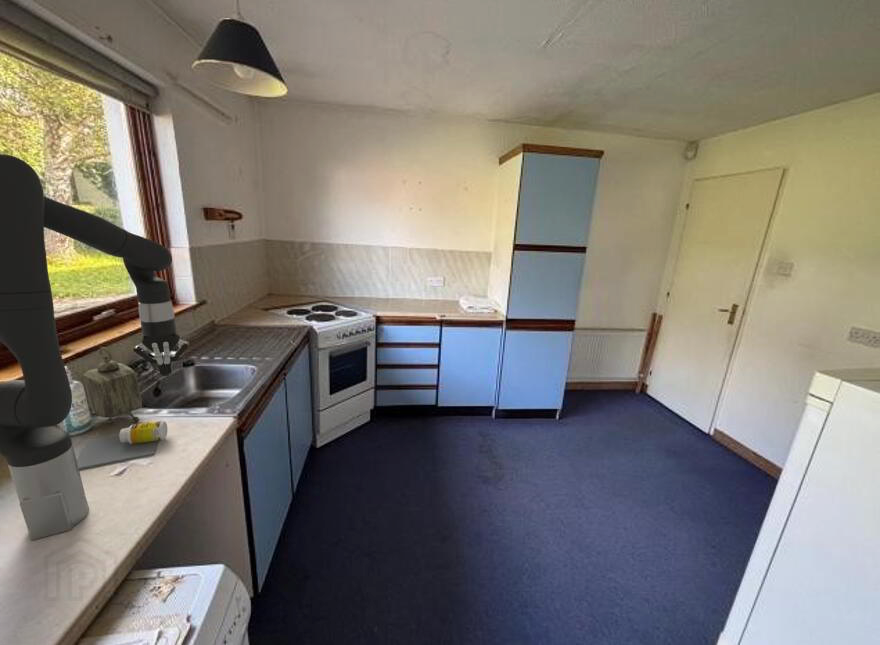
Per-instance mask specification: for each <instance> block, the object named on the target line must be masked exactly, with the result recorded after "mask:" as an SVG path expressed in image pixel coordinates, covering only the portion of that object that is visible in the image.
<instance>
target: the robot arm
mask: <svg viewBox="0 0 880 645" xmlns="http://www.w3.org/2000/svg"><path fill="white" fill-rule="evenodd" d="M45 228H46V229H48V230H50V231H53V232H56V233H58V234H60V235H63V236H65V237H67V238H71V239H72V240H75V241H77V242H80V243H82V244H84V245H87V246H89V248H90V247H91V248H92V249H95V250H97V251H100V252H101V253H105V254H106V255H109V256H112V257H117V258H121V259H122V261H123V265H124V267H125V269H126V270H127V274H128V276H129V277H130V279H131V281H132V283H133V285H134V286H135V289H136V296H137V302H138V314H139V315H138V316H139V321H140V325H141V332H142V339H141V343H139V344H138V345H135V346H134V348H133V352H134V353H136V354H137V355H138V356H140V357H141V358H142V359H144V360H145V361H147V362H148V363H149V364H156V365H158V371H159V374H160V375H162V377H169V376H170V375H171V374H172V373H173V363H174V362H177V361H178V360H179V358H180V357H181V356H182V355H183V353H184V352H185V351H186V350H187V348H188V347H189V344H190V342H189V341H187V340H183V339H181V337H180V335H179V334H178V331H177V325H176V318H175V310H174V306H173V303H172V300H171V292H170V287H169V283H168V282H167V281H166V280H165V279H163V278H160V277H158V276H157V275H156V272H162V271H165V270H168V269H169V268H170V266H172V263H173V257H172V256H173V255H172V254H171V252H170V251H169V249H168V248H167V247H165V246H164V245H163V244H161V243H159V242H157V241H154V240H152V239H149V238H146V237H144V236H140V235H138V234H134V233H132V232H130V231H128V230H126V229H125V228H122V227H121V226H119V225H117V224H115V223H113V222H111V221H109V220H107V219H106V218H104V217H101V216H99V215H97V214H94V213H91V212H88V211H85V210H82V209H80V208H78V207H74V206H71V205H67V204H66V203H62V202H60V201H57V200H54V199H52V198H50V197H48V196H45V192H44V187H43V183H42V180H41V178H40V176H39V175H38V173H37V171H36V170H35V169H34V168H33V167H32V166H31V165H30V164H29V163H27V162H26V161H25V160H22V159H21V158H19V157H17V156H14V155H10V154H9V155H8V154H3V153H0V342H1V343H2V344H3V345H4V346H5V347H6V348H7V349H8V350H9V351H10V352H11V353H12V355H13V356H14V357H15V359H16V360H17V362H18V363H19V366H20V369H21V373H22V376H23V379H19V380H18V379H16V380H6V381H2V382H0V456H1V457H4V459H5V460H6V464H7V466H8V469H9V470H8V471H9V473H10V477H11V479H12V482H13V486H14V488H15V492H16V495H17V497H18V500H19V506H20V510H21V513H22V516H23V519H24V522H25V524H26V528H27V532H28V535H29V537H30V540H31V541H33V540H34V541H35V540H37V539H41V538H42V539H43V538H44V537H50V536H53V535H57V534H61V533H65V532H69V531H71V530H72V529H73V527H74V526H76V525H77V524H78V523H80V522H81V521H82V520H83V519H84V518H85V517H86V516H87V515H88V514H89V510H90V508H89V504H88V500H87V495H86V493H85V488H84V483H83V480H82V476H81V473H80V470H79V468H78V464H77V457H76V454H75V450H74V445H73V441H72V438H71V435H70V434H69V432H68V431H66V430H64V429H61V428H59V427H56V426H57V425H58V424H61V423H63V421H64V420H65V419H66V418H68V415H69V413H70V411H71V409H72V404H73V393H72V388H71V384H70V381H69V377H68V373H67V370H66V367H65V363H64V360H63V356H62V353H61V347H60V343H59V337H58V332H57V326H56V325H57V324H56V319H55V308H54V307H55V306H54V299H53V292H52V286H51V282H50V281H51V280H50V276H49V270H48V269H49V268H48V261H47V251H46V242H45ZM177 344H178V349H177V351H176V352H175V354H173V355H172V351H173V350H174V349H175V347H176V346H177ZM147 349H148V350H147ZM149 350H150V351H151V352H152V353H153V354H154V355H153V354H152V353H151V352H150V351H149ZM172 362H173V363H172Z"/></svg>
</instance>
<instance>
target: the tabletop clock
mask: <svg viewBox="0 0 880 645" xmlns="http://www.w3.org/2000/svg"><path fill="white" fill-rule="evenodd" d="M103 350H104V351H105V352H106V353H107V355H104V354H103ZM99 353H100V356H101V358H102V359H103V360H104V361H102V362H100V363H99V364H98V365H97V368H93V369H90V370H87V371H86V372H84V373H83V374H82V375H81V380H82V384H83V388H84V389H85V390H84V393H86V394H85V398H86V397H87V398H86V401H87V404H88V406H89V409H90V410H91V411H93V412H94V413H95V414H96V415H98V416H100V417H101V418H104V419H105V418H107V420H106V423H107V424H110V425H111V424H112V423H113V422H114V418H117V417H119V416H122V415H125V414H126V415H128V416H129V417H131V418H132V422H135V423H137V422H138V421H139V420H140V418H139V416H134V414H133V413H132V412H133V411H136V410H139V409H142V406H143V402H142V395H141V391H140V390H141V389H140V385H139V381H138V377H137V375H136V372H135V371H134V369H132V368H131V367H129V366H127V365H126V364H123V363H121V362H117V361H115V360H112V359H113V358H112V354H111V352H110V350H109V349H108V348H107V347H104V346H101V347H100V348H99Z"/></svg>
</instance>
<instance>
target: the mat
mask: <svg viewBox="0 0 880 645" xmlns="http://www.w3.org/2000/svg"><path fill="white" fill-rule="evenodd" d="M119 436H120V434H117V435H112V436H111V435H110V436H105V437H100V438H93V439H88V441H87V443H86V445H85V446H84V447H83V449H82V450H81V452H80V454H79V455H78V457H76V460H77V464H78V468H79V471H81V470H85V469H91V468H94V467H101V466H106V465H111V464H115V463H121V462H126V461H131V460H136V459H140V458H146V457H150V456H151V455H152V456H154V455H155V453H156V451H157V449H158V445H159V443H160V440H157V441H151V442H144V443H137V444H130V443H129V442H124V443H122V442H121V441H120V437H119ZM152 456H151V457H152Z"/></svg>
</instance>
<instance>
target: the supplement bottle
mask: <svg viewBox="0 0 880 645" xmlns="http://www.w3.org/2000/svg"><path fill="white" fill-rule="evenodd" d="M119 435H120V436H119V437H120V441H121V442H122V443H124V442H129V443H130V444H137V443H144V442H151V441H157V440H159V441H163V440H165V439H166V437H167V435H168V424H167V422H166V421H165V420H158V421H151V422H142V423H134V424H131V425H130V426H129V427H126V428H125V427H124V428H121V429H120V431H119Z"/></svg>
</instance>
